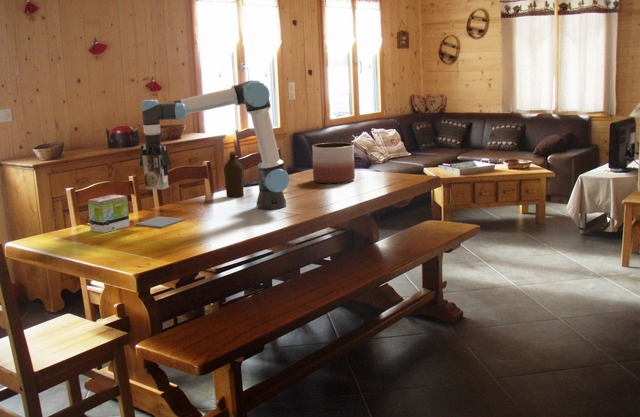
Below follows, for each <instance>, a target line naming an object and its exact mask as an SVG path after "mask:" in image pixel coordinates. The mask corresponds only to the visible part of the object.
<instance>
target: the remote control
mask: <svg viewBox="0 0 640 417" xmlns="http://www.w3.org/2000/svg"><path fill="white" fill-rule="evenodd" d="M257 186H259V180H257V181H251V182H243V189H244V188H248V187H249V188H250V187H257ZM224 188H225V189H226V185H224Z"/></svg>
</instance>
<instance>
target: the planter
mask: <svg viewBox="0 0 640 417" xmlns="http://www.w3.org/2000/svg"><path fill="white" fill-rule="evenodd" d="M311 147H312V178H313V181H314V182H315V183H319V184H325V185H326V184H328V185H339V183H340V184H346V182H347V183H350V182H352V181H354V180H355V176H356V174H355V169H356V168H355V148H354V147H355V144H354V143H351V142H324V143H315V144H313V145H312V146H311Z"/></svg>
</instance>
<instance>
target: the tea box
mask: <svg viewBox="0 0 640 417" xmlns="http://www.w3.org/2000/svg"><path fill="white" fill-rule="evenodd" d="M128 204H129V202H128V196H127V195H120V194H109V195H105V196H100V197H95V198H91V199H87V206H88V216H89V217H88V218H89V229H90V231H91V232H96V233H103V234H106V233H108V232H112V231H115V230H119V229H123V228H127V227H129V226H130V214H129V205H128Z"/></svg>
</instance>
